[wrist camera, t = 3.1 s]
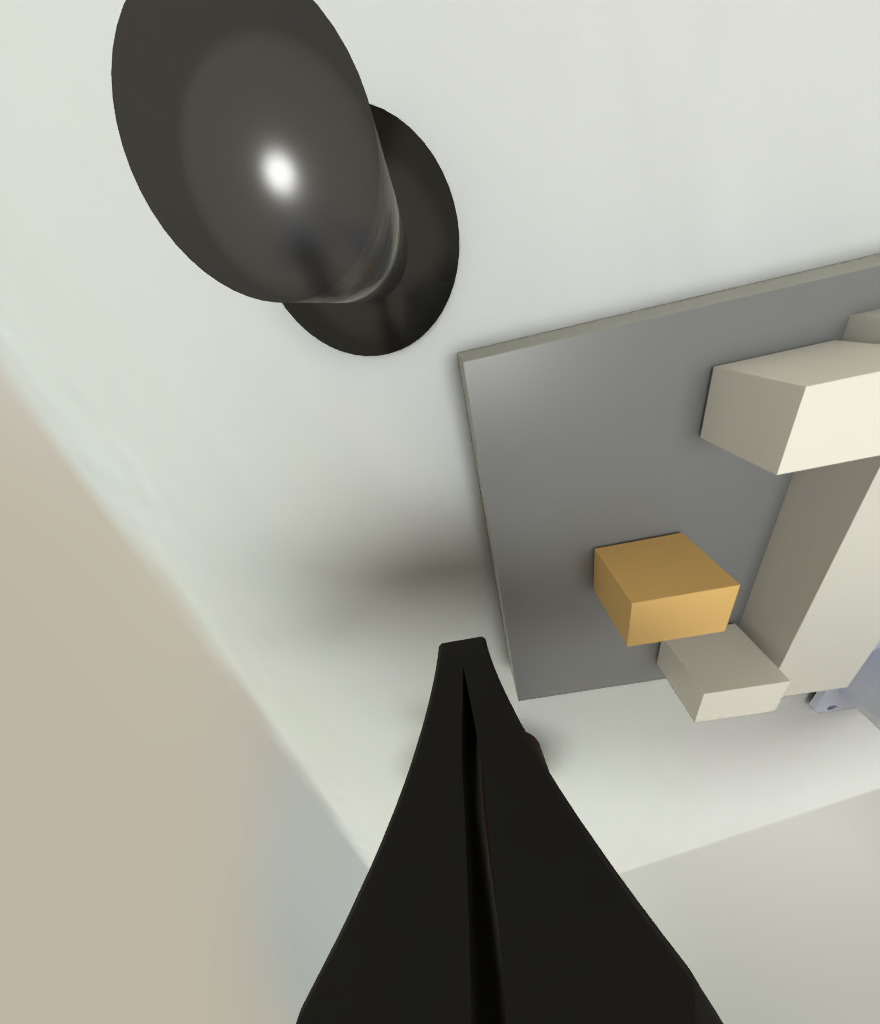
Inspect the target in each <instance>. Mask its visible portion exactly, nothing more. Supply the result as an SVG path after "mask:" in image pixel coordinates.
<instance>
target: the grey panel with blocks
mask: <svg viewBox="0 0 880 1024" xmlns="http://www.w3.org/2000/svg"><path fill="white" fill-rule="evenodd" d="M457 354H458V360H459V366H460V372H461V378H462V384H463V390H464V396H465V401H466V407H467V413H468V419H469V425H470V431H471V437H472V443H473V449H474V455H475V460H476V466H477V472H478V478H479V484H480V490H481V496H482V502H483V508H484V514H485V520H486V525H487V531H488V537H489V543H490V549H491V555H492V561H493V567H494V573H495V579H496V584H497V590H498V596H499V602H500V608H501V614H502V620H503V626H504V632H505V638H506V643H507V649H508V655H509V661H510V667H511V671H512V675H513V679H514V684H515V688H516V692H517V697H518V701H521V700H528V699H534V698H541V697H547V696H554V695H560V694H567V693H573V692H580V691H587V690H593V689H600V688H606V687H613V686H619V685H626V684H632V683H639V682H645V681H652V680H659V679H665V678H666V679H667V680H668V682H669V683H670V685H671V686H672V688H673V689H674V691H675V693H676V694H677V696H678V697H679V699H680V700H681V702H682V703H683V705H684V707H685V708H686V710H687V711H688V713H689V714H690V716H691V718H692V719H693V721H694V722H701V721H708V720H715V719H722V718H729V717H736V716H743V715H750V714H757V713H764V712H771V711H775V709H776V708H777V706H778V704H779V702H780V700H781V698H782V697H783V696H790V695H797V694H804V693H811V692H817V691H824V690H831V689H838V688H845V687H848V685H849V684H850V682H851V681H852V679H853V678H854V677H855V675H856V674H857V672H858V671H859V669H860V668H861V667H862V665H863V664H864V662H865V661H866V659H867V658H868V657H869V655H870V654H871V652H872V651H873V649H874V648H875V647H876V645H877V644H878V642H879V641H880V254H876V255H872V256H867V257H863V258H859V259H855V260H850V261H846V262H842V263H838V264H833V265H829V266H825V267H821V268H816V269H812V270H808V271H804V272H799V273H795V274H791V275H787V276H782V277H778V278H774V279H770V280H765V281H761V282H757V283H753V284H748V285H744V286H740V287H736V288H731V289H727V290H723V291H719V292H714V293H710V294H706V295H702V296H697V297H693V298H689V299H685V300H680V301H676V302H672V303H668V304H663V305H659V306H655V307H651V308H646V309H642V310H638V311H634V312H629V313H625V314H621V315H617V316H612V317H608V318H604V319H600V320H595V321H591V322H587V323H583V324H578V325H574V326H570V327H566V328H561V329H557V330H553V331H549V332H544V333H540V334H536V335H532V336H527V337H523V338H519V339H515V340H510V341H506V342H502V343H498V344H493V345H489V346H485V347H481V348H476V349H472V350H468V351H464V352H459V353H457ZM677 533H683V534H684V535H685V536H686V537H687V538H689V539H690V540H691V541H692V542H693V543H694V544H695V545H696V546H697V547H699V548H700V549H701V550H702V551H703V552H704V553H705V554H706V555H708V556H709V557H710V558H711V559H712V560H713V561H714V562H715V563H716V564H718V565H719V566H720V567H721V568H722V569H723V570H724V571H725V572H727V573H728V574H729V575H730V576H731V577H732V578H733V579H734V580H735V581H737V582H738V583H739V584H740V587H739V590H738V593H737V596H736V599H735V602H734V605H733V608H732V611H731V614H730V617H729V620H728V623H727V626H726V629H725V631H723V632H716V633H710V634H704V635H698V636H692V637H685V638H679V639H673V640H667V641H661V642H654V643H648V644H642V645H636V646H630V647H627V646H626V644H625V642H624V641H623V639H622V637H621V635H620V634H619V632H618V630H617V629H616V627H615V625H614V624H613V622H612V620H611V618H610V617H609V615H608V613H607V612H606V610H605V608H604V606H603V605H602V603H601V601H600V600H599V598H598V596H597V595H596V593H595V591H594V589H593V585H594V551H595V549H596V548H601V547H607V546H612V545H617V544H623V543H628V542H634V541H639V540H645V539H650V538H655V537H661V536H666V535H672V534H677Z"/></svg>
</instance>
